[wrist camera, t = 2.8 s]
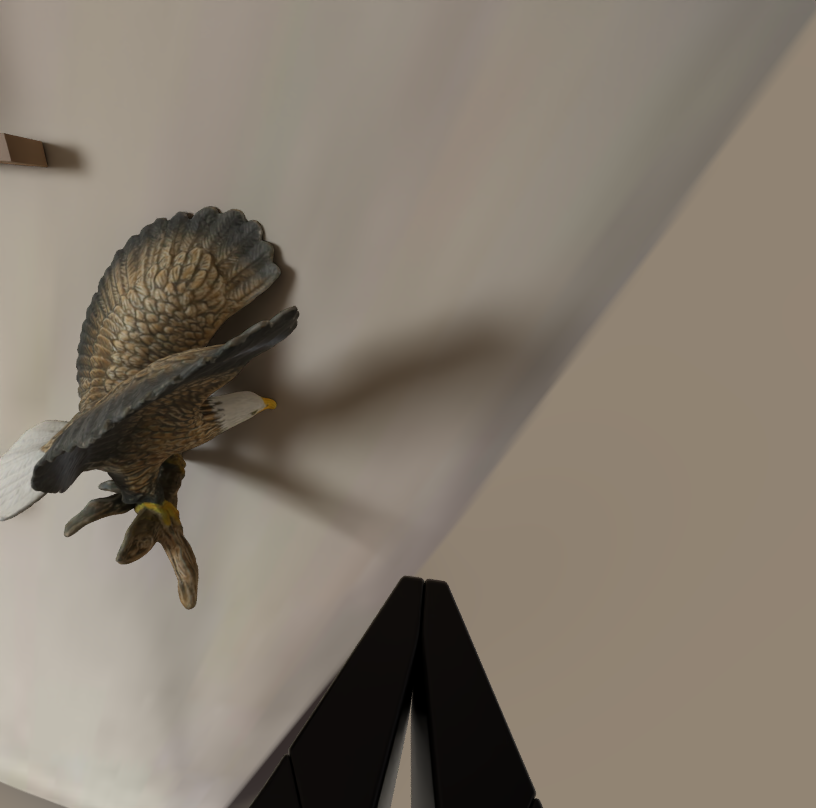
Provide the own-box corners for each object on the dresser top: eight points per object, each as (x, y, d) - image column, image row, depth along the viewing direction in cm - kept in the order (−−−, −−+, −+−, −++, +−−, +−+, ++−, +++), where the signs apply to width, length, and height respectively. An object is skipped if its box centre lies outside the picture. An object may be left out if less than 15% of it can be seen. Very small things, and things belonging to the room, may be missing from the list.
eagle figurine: (312, 540, 14) (399, 314, 9) (45, 697, 9) (-105, 374, 4) (207, 404, 17) (228, 179, 12) (-35, 462, 12) (-178, 110, 7)
